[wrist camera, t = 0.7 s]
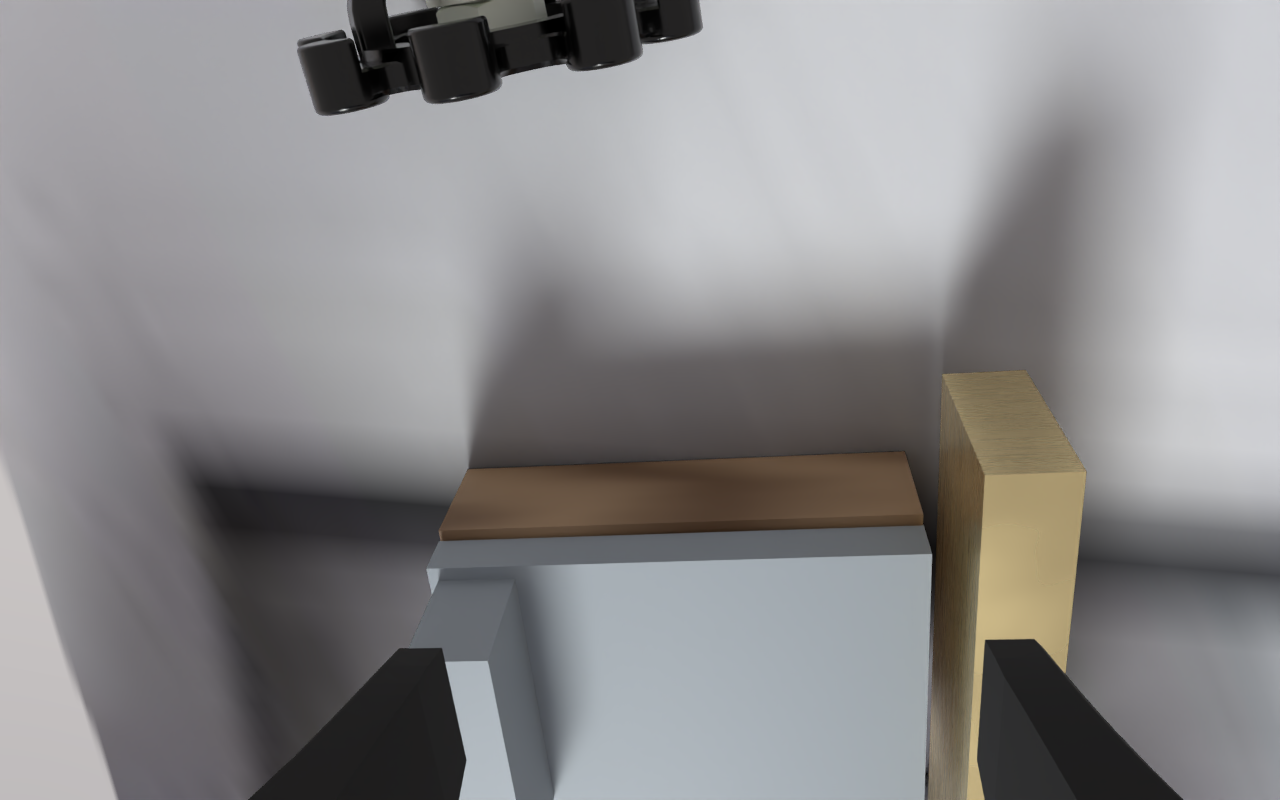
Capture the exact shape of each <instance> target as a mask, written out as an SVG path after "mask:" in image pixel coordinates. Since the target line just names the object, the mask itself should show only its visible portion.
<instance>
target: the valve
mask: <svg viewBox="0 0 1280 800" xmlns="http://www.w3.org/2000/svg"><path fill="white" fill-rule="evenodd" d="M426 5H427V9H421V10H416V11H411V12H406V13H401V14H397V15H392V16H388V13H387V9H386V0H347V11H348V17H349V22H350V26H351V30H352V33H353V37H354V40H355V44H356V48H357V50H358V54H359V55H357V52H356V48H355V44H354V41H353V40H352V39H350V38H347V37H346V34H345V32H344V31H343V30H338V31H333V32H328V33H323V34H318V35H314V36H310V37H306V38H303V39H300V40H298V42H297V45H298V49H297V53H298V56H299V59H300V63H301V66H302V69H303V73H304V76H305V79H306V82H307V86H308V89H309V92H310V96H311V99H312V102H313V105H314V109H315V111H316V113H317V114H319V115H322V116H331V115H339V114H345V113H350V112H355V111H359V110H363V109H367V108H371V107H374V106H377V105H380V104H382V103H384V102H386V101H387V100H388V99H389V95H391V94H395V93H400V92H405V91H411V90H420V89H421V91H422V95H423V98H424V100H425V101H426V102H427V103H430V104H444V103H451V102H458V101H463V100H468V99H472V98H476V97H480V96H483V95H487V94H490V93H492V92H495V91H497V90H498V89H499V88H500V87H501V86H502V79H501V77H504V76H508V75H511V74H515V73H520V72H524V71H529V70H533V69H538V68H542V67H547V66H553V65H560V64H566V65H567V67H568V69H570V70H572V71H590V70H597V69H604V68H609V67H613V66H618V65H622V64H625V63H629V62H632V61H634V60H637V59H638V58H640V57H641V56H642V54H643V48H642V44H653V43H660V42H667V41H672V40H677V39H681V38H685V37H689V36H692V35H695V34H697V33H699V32H700V31H701V30H702V28H703V24H702V17H701V10H700V3H699V0H561V1H556V0H426ZM441 6H443V7H441ZM436 7H441V8H440V9H439V10H438V8H436Z"/></svg>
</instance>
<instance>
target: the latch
mask: <svg viewBox="0 0 1280 800" xmlns="http://www.w3.org/2000/svg"><path fill="white" fill-rule="evenodd" d="M1086 472H1087V471H1086V470H1085V468H1084V466H1083V465H1082V463H1081V461H1080V460H1079V458H1078V456H1077V455H1076V453H1075V451H1074V450H1073V448H1072V446H1071V445H1070V443H1069V441H1068V440H1067V438H1066V436H1065V435H1064V433H1063V431H1062V430H1061V428H1060V426H1059V425H1058V423H1057V421H1056V420H1055V418H1054V416H1053V415H1052V413H1051V411H1050V410H1049V408H1048V406H1047V405H1046V403H1045V402H1044V400H1043V398H1042V397H1041V395H1040V393H1039V392H1038V390H1037V388H1036V387H1035V385H1034V383H1033V382H1032V380H1031V378H1030V377H1029V375H1028V373H1027V372H1026V370H1015V371H995V372H975V373H955V374H942V396H941V426H940V456H939V486H938V516H937V546H936V576H935V606H934V636H933V666H932V695H931V725H930V755H929V785H928V800H985V799H984V794H983V789H982V784H981V779H980V773H979V768H978V763H977V748H978V734H979V719H980V704H981V689H982V674H983V660H984V645H985V640H998V639H1035V640H1036V641H1037V642H1038V643H1039V644H1040V645H1041V646H1042V647H1043V648H1044V649H1045V650H1046V652H1047V653H1048V654H1049V655H1050V656H1051V658H1052V659H1053V660H1054V661H1055V662H1056V664H1057V665H1058V666H1059V667H1060V668H1061V670H1062V671H1063V672H1064V673H1066V663H1067V654H1068V644H1069V634H1070V625H1071V615H1072V606H1073V596H1074V587H1075V577H1076V568H1077V558H1078V548H1079V539H1080V529H1081V520H1082V510H1083V501H1084V491H1085V482H1086Z"/></svg>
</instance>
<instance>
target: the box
mask: <svg viewBox="0 0 1280 800" xmlns="http://www.w3.org/2000/svg"><path fill="white" fill-rule="evenodd" d="M919 525H923V512H922V508H921V505H920V501H919V498H918V495H917V491H916V488H915V484H914V481H913V478H912V474H911V471H910V468H909V464H908V461H907V457H906V454H905V451H899V452H875V453H850V454H826V455H802V456H777V457H753V458H729V459H705V460H680V461H656V462H632V463H608V464H583V465H559V466H535V467H511V468H486V469H468V470H467V472H466V474H465V476H464V478H463V480H462V483H461V485H460V487H459V489H458V491H457V493H456V495H455V497H454V499H453V501H452V504H451V506H450V508H449V510H448V512H447V514H446V516H445V518H444V520H443V522H442V525H441V527H440V529H439V535H440V539H441V541H459V540H490V539H520V538H551V537H582V536H612V535H643V534H673V533H704V532H735V531H765V530H796V529H827V528H857V527H888V526H919Z"/></svg>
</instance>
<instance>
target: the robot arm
mask: <svg viewBox="0 0 1280 800" xmlns="http://www.w3.org/2000/svg"><path fill="white" fill-rule="evenodd" d="M466 761H467V760H466V755H465V750H464V746H463V741H462V737H461V732H460V728H459V723H458V718H457V714H456V709H455V705H454V700H453V696H452V691H451V686H450V682H449V677H448V673H447V668H446V664H445V659H444V655H443V650H442V648H400V649H398V650H397V651H396V652H395V653H394V654H393V656H392V657H391V658H390V659H389V660H388V661H387V662H386V663H385V664H384V665H383V666H382V667H381V668H380V669H379V670H378V671H377V672H376V673H375V674H374V675H373V676H372V677H371V678H370V679H369V680H368V681H367V682H366V683H365V685H364V686H363V687H362V688H361V689H360V690H359V691H358V692H357V693H356V694H355V695H354V696H353V697H352V698H351V699H350V700H349V701H348V702H347V704H346V705H345V706H344V707H343V708H342V709H341V710H340V711H339V712H338V713H337V714H336V715H335V716H334V717H333V718H332V719H331V720H330V721H329V722H328V723H327V724H326V725H325V726H324V727H323V728H322V729H321V730H320V731H319V732H318V733H317V734H316V735H315V736H314V737H313V738H312V739H311V740H310V741H309V742H308V744H307V745H306V746H305V747H304V748H303V749H302V750H301V751H300V752H299V753H298V754H297V755H296V756H295V757H294V758H293V759H292V760H290V761H289V762H288V763H287V764H286V765H285V766H284V767H283V768H282V769H281V770H280V771H279V772H278V773H276V774H275V775H274V776H273V777H272V778H271V779H270V780H269V781H268V782H267V783H266V784H265V785H264V786H262V787H261V788H260V789H259V790H258V791H257V792H256V793H255V794H254V795H253V796H252V797H251V798H250V799H248V800H459V797H460V792H461V787H462V781H463V776H464V771H465V766H466ZM977 763H978V768H979V773H980V779H981V784H982V789H983V794H984V799H985V800H1183V799H1182V798H1181V797H1180V796H1179V795H1178V794H1177V793H1176V792H1175V791H1174V790H1173V789H1172V788H1171V787H1170V786H1169V785H1168V784H1167V783H1166V782H1165V781H1164V780H1163V779H1162V778H1160V777H1159V776H1158V775H1157V774H1156V773H1155V772H1154V771H1153V770H1152V769H1151V768H1150V767H1149V766H1148V764H1147V763H1146V762H1145V761H1144V760H1143V759H1142V758H1141V757H1140V756H1139V755H1138V754H1137V753H1136V752H1135V751H1134V750H1133V749H1132V748H1131V747H1130V746H1129V745H1128V744H1127V742H1126V741H1125V740H1124V739H1123V738H1122V737H1121V736H1120V735H1119V734H1118V733H1117V732H1116V731H1115V730H1114V729H1113V728H1112V727H1111V726H1110V724H1109V723H1108V722H1107V721H1106V720H1105V719H1104V718H1103V717H1102V716H1101V715H1100V713H1099V712H1098V711H1097V710H1096V709H1095V708H1094V707H1093V705H1092V704H1091V703H1090V702H1089V701H1088V700H1087V699H1086V698H1085V696H1084V695H1083V694H1082V693H1081V692H1080V691H1079V690H1078V688H1077V687H1076V686H1075V685H1074V684H1073V683H1072V681H1071V680H1070V679H1069V678H1068V677H1067V675H1066V674H1065V673H1064V672H1063V671H1062V670H1061V668H1060V667H1059V666H1058V665H1057V664H1056V662H1055V661H1054V660H1053V659H1052V658H1051V656H1050V655H1049V654H1048V653H1047V652H1046V650H1045V649H1044V648H1043V647H1042V646H1041V645H1040V644H1039V643H1038V642H1037V641H1036V640H1035V639H998V640H985V645H984V660H983V674H982V689H981V704H980V719H979V734H978V748H977Z"/></svg>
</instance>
